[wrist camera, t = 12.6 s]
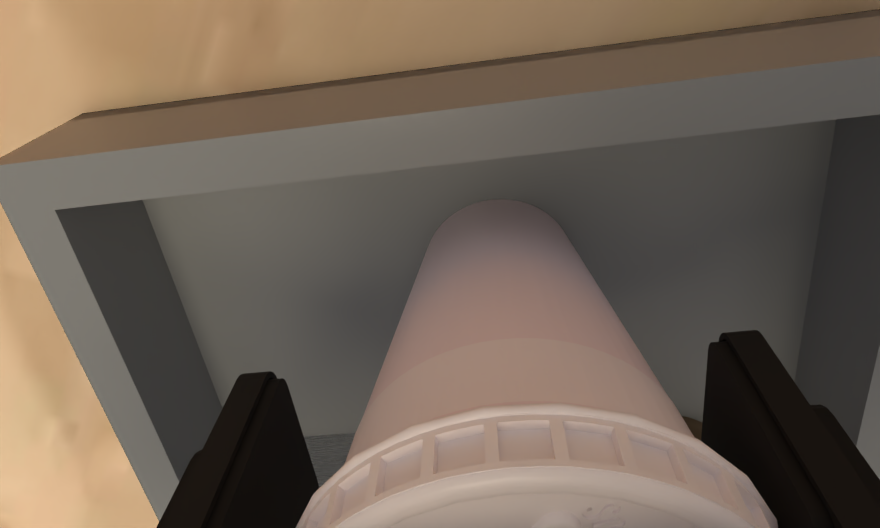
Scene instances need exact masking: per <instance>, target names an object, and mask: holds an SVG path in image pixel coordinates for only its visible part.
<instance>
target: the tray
mask: <svg viewBox="0 0 880 528" xmlns="http://www.w3.org/2000/svg"><path fill="white" fill-rule="evenodd" d="M495 199H507V200H515V201H520V202H524V203H527V204H530V205H532V206H535V207H537V208H539V209H541V210H542V211H544V212H545V213H547V214H548V215H549V216H551V217H552V218H553V219H554V220H555V221H556V222H557V223H558V224H559V225H560V227H561V228H562V229H563V231H564V232H565V234H566V236H567V237H568V239H569V240H570V242H571V243H572V245H573V247H574V248H575V250H576V251H577V253H578V255H579V256H580V258H581V259H582V261H583V262H584V264H585V266H586V267H587V269H588V270H589V272H590V274H591V275H592V277H593V278H594V280H595V281H596V283H597V285H598V286H599V288H600V289H601V291H602V293H603V294H604V296H605V297H606V299H607V300H608V302H609V304H610V305H611V307H612V308H613V310H614V311H615V313H616V315H617V316H618V318H619V319H620V321H621V323H622V324H623V326H624V327H625V329H626V330H627V332H628V334H629V335H630V337H631V338H632V340H633V342H634V343H635V345H636V346H637V348H638V349H639V351H640V353H641V354H642V356H643V357H644V359H645V361H646V362H647V364H648V365H649V367H650V368H651V370H652V372H653V373H654V375H655V376H656V378H657V379H658V381H659V383H660V384H661V386H662V387H663V389H664V391H665V392H666V394H667V395H668V397H669V398H670V399H671V400H672V402H673V403H674V405H675V406H676V408H677V409H678V411H679V413H680V414H681V416H684V417H688V418H692V419H695V420H697V421H699V422H702V421H703V409H704V396H705V383H706V370H707V357H708V347H709V344H710V343H711V342H719V337H720V335H721V334H722V333H725V332H737V331H748V330H758V331H759V332H760V333H761V334H762V335H763V337H764V338H765V340H766V341H767V342H768V344H769V345H770V347H771V348H772V350H773V351H774V353H775V354H776V356H777V357H778V359H779V360H780V362H781V363H782V364H783V366H784V367H785V369H786V370H787V372H788V373H789V375H790V376H791V378H792V379H793V381H794V382H795V384H796V385H797V386H798V388H799V389H800V391H801V392H802V394H803V395H804V397H805V398H806V400H807V401H808V403H809V404H810V405H819V404H821V405H823V406H825V407H827V408H828V409H829V411H830V412H831V413H832V414H833V415H834V416H835V418H836V419H837V421H838V422H839V423H840V425H841V426H842V428H843V429H844V430H845V432H846V433H847V435H848V436H849V437H850V439H851V440H852V442H853V443H854V444H855V446H856V447H857V449H858V450H859V451H860V453H861V454H862V456H863V457H864V458H865V460H866V461H867V463H868V464H869V465H870V467H871V468H872V470H873V471H874V472H875V474H876V475H877V477H878V478H879V479H880V9H879V10H872V11H864V12H856V13H849V14H841V15H833V16H826V17H818V18H810V19H803V20H795V21H787V22H780V23H772V24H764V25H757V26H749V27H741V28H734V29H726V30H718V31H711V32H703V33H696V34H688V35H680V36H673V37H665V38H657V39H650V40H642V41H634V42H627V43H619V44H611V45H604V46H596V47H588V48H581V49H573V50H565V51H558V52H550V53H542V54H535V55H527V56H519V57H512V58H504V59H496V60H489V61H481V62H473V63H466V64H458V65H450V66H443V67H435V68H428V69H420V70H412V71H405V72H397V73H389V74H382V75H374V76H366V77H359V78H351V79H343V80H336V81H328V82H320V83H313V84H305V85H297V86H290V87H282V88H274V89H267V90H259V91H251V92H244V93H236V94H228V95H221V96H213V97H205V98H198V99H190V100H183V101H175V102H167V103H160V104H152V105H144V106H137V107H129V108H121V109H114V110H106V111H98V112H91V113H83V114H81V115H79V116H77V117H75V118H73V119H71V120H70V121H68V122H66V123H64V124H62V125H60V126H58V127H57V128H55V129H53V130H51V131H49V132H47V133H45V134H44V135H42V136H40V137H38V138H36V139H34V140H32V141H31V142H29V143H27V144H25V145H23V146H21V147H20V148H18V149H16V150H14V151H12V152H10V153H8V154H7V155H5V156H3V157H1V158H0V203H1V205H2V207H3V209H4V211H5V213H6V215H7V217H8V219H9V221H10V223H11V225H12V227H13V229H14V231H15V233H16V235H17V237H18V239H19V241H20V243H21V245H22V247H23V249H24V251H25V253H26V255H27V257H28V259H29V261H30V263H31V265H32V267H33V269H34V271H35V273H36V275H37V277H38V279H39V281H40V283H41V285H42V287H43V289H44V291H45V293H46V295H47V297H48V299H49V301H50V303H51V305H52V307H53V309H54V311H55V313H56V315H57V317H58V319H59V321H60V323H61V325H62V327H63V329H64V331H65V333H66V335H67V337H68V339H69V341H70V343H71V345H72V347H73V349H74V351H75V353H76V355H77V357H78V359H79V361H80V363H81V365H82V367H83V369H84V371H85V373H86V375H87V377H88V379H89V381H90V383H91V385H92V387H93V389H94V391H95V393H96V395H97V397H98V399H99V401H100V403H101V405H102V407H103V409H104V411H105V413H106V416H107V418H108V420H109V422H110V424H111V426H112V428H113V430H114V432H115V434H116V436H117V438H118V440H119V442H120V444H121V446H122V448H123V450H124V452H125V454H126V456H127V458H128V460H129V462H130V464H131V466H132V468H133V470H134V472H135V474H136V476H137V478H138V480H139V482H140V484H141V486H142V488H143V490H144V492H145V494H146V496H147V498H148V500H149V502H150V504H151V506H152V508H153V510H154V512H155V514H156V516H157V518H158V520H159V522H160V520H161V518H162V516H163V514H164V512H165V510H166V508H167V506H168V504H169V502H170V500H171V498H172V496H173V494H174V492H175V490H176V488H177V486H178V484H179V482H180V480H181V478H182V476H183V474H184V472H185V470H186V468H187V466H188V464H189V462H190V460H191V459H192V457H193V456H194V454H195V453H197V452H198V451H200V450H202V449H203V447H204V445H205V443H206V441H207V439H208V437H209V435H210V433H211V431H212V429H213V427H214V425H215V423H216V421H217V419H218V417H219V414H220V412H221V410H222V408H223V406H224V404H225V402H226V400H227V398H228V396H229V394H230V392H231V390H232V388H233V386H234V384H235V382H236V380H237V378H238V377H239V375H241V374H245V373H256V372H268V371H271V372H274V374H275V375H276V377H277V379H280V378H283V379H285V381H286V383H287V385H288V388H289V391H290V395H291V398H292V401H293V404H294V407H295V410H296V414H297V417H298V420H299V423H300V426H301V429H302V433H303V436H304V437H307V436H320V435H333V434H346V433H356V431H357V428H358V426H359V424H360V422H361V420H362V417H363V415H364V412H365V410H366V407H367V404H368V402H369V399H370V397H371V394H372V391H373V389H374V386H375V384H376V381H377V378H378V376H379V373H380V370H381V368H382V365H383V363H384V360H385V357H386V355H387V352H388V350H389V347H390V344H391V342H392V339H393V337H394V334H395V331H396V329H397V326H398V324H399V321H400V318H401V316H402V313H403V311H404V308H405V305H406V303H407V300H408V298H409V295H410V292H411V290H412V287H413V285H414V282H415V279H416V277H417V274H418V272H419V269H420V266H421V264H422V261H423V258H424V256H425V253H426V251H427V248H428V245H429V243H430V241H431V239H432V237H433V235H434V233H435V232H436V231H437V229H438V228H439V227H440V226H441V224H442V223H443V222H444V221H445V220H446V219H448V218H449V217H450V216H451V215H453V214H454V213H456V212H457V211H459V210H460V209H462V208H464V207H467V206H469V205H472V204H474V203H478V202H481V201H487V200H495Z"/></svg>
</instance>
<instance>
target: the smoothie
mask: <svg viewBox="0 0 880 528" xmlns="http://www.w3.org/2000/svg"><path fill="white" fill-rule="evenodd" d="M296 528H778V523H777V519H776V518H775V516H774V515H773V513H772V512H771V510H770V509H769V507H768V506H767V504H766V503H765V501H764V500H763V498H762V497H761V495H760V494H759V492H758V491H757V489H756V488H755V486H754V485H753V483H752V482H751V480H750V479H749V477H748V476H747V475H746V474H744V473H743V472H742V471H740V470H739V469H738V468H736V467H735V466H734V465H732V464H731V463H730V462H728V461H727V460H726V459H724V458H723V457H722V456H720V455H719V454H718V453H716V452H715V451H714V450H712V449H711V448H710V447H708V446H707V445H706V444H704V443H703V442H702V441H700V440H699V439H697V438H695V437H694V436H693V434H692V432H691V431H690V429H689V427H688V426H687V424H686V422H685V421H684V419H683V418H682V416H681V414H680V413H679V411H678V409H677V408H676V406H675V405H674V403H673V402H672V400H671V399H670V398H669V397H668V395H667V394H666V392H665V391H664V389H663V387H662V386H661V384H660V383H659V381H658V379H657V378H656V376H655V375H654V373H653V372H652V370H651V368H650V367H649V365H648V364H647V362H646V361H645V359H644V357H643V356H642V354H641V353H640V351H639V349H638V348H637V346H636V345H635V343H634V342H633V340H632V338H631V337H630V335H629V334H628V332H627V330H626V329H625V327H624V326H623V324H622V323H621V321H620V319H619V318H618V316H617V315H616V313H615V311H614V310H613V308H612V307H611V305H610V304H609V302H608V300H607V299H606V297H605V296H604V294H603V293H602V291H601V289H600V288H599V286H598V285H597V283H596V281H595V280H594V278H593V277H592V275H591V274H590V272H589V270H588V269H587V267H586V266H585V264H584V262H583V261H582V259H581V258H580V256H579V255H578V253H577V251H576V250H575V248H574V247H573V245H572V243H571V242H570V240H569V239H568V237H567V236H566V234H565V232H564V231H563V229H562V228H561V227H560V225H559V224H558V223H557V222H556V221H555V220H554V219H553V218H552V217H551V216H549V215H548V214H547V213H545V212H544V211H542V210H541V209H539V208H537V207H535V206H532V205H530V204H527V203H524V202H520V201H515V200H507V199H495V200H487V201H481V202H478V203H474V204H472V205H469V206H467V207H464V208H462V209H460V210H459V211H457V212H456V213H454V214H453V215H451V216H450V217H449V218H448V219H446V220H445V221H444V222H443V223H442V224H441V226H440V227H439V228H438V229H437V231H436V232H435V233H434V235H433V237H432V239H431V241H430V243H429V245H428V248H427V251H426V253H425V256H424V258H423V261H422V264H421V266H420V269H419V272H418V274H417V277H416V279H415V282H414V285H413V287H412V290H411V292H410V295H409V298H408V300H407V303H406V305H405V308H404V311H403V313H402V316H401V318H400V321H399V324H398V326H397V329H396V331H395V334H394V337H393V339H392V342H391V344H390V347H389V350H388V352H387V355H386V357H385V360H384V363H383V365H382V368H381V370H380V373H379V376H378V378H377V381H376V384H375V386H374V389H373V391H372V394H371V397H370V399H369V402H368V404H367V407H366V410H365V412H364V415H363V417H362V420H361V422H360V424H359V426H358V428H357V431H356V433H355V436H354V439H353V442H352V444H351V447H350V450H349V453H348V455H347V458H346V461H345V464H344V465H343V466H342V467H341V468H340V469H339V470H338V471H337V472H336V473H335V474H334V475H333V476H332V477H331V478H330V479H328V480H327V481H326V482H325V483H324V484H323V485H322V486H321V487H320V488H319V489H318V490H317V491H316V492H315V493H314V494H313V495H312V497H311V499H310V501H309V503H308V505H307V507H306V509H305V511H304V513H303V514H302V516H301V518H300V520H299V522H298V524H297V526H296Z"/></svg>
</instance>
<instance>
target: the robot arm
mask: <svg viewBox="0 0 880 528" xmlns="http://www.w3.org/2000/svg"><path fill="white" fill-rule="evenodd" d="M701 441H702V442H703V443H704V444H706V445H707V446H708V447H710V448H711V449H712V450H714V451H715V452H716V453H718V454H719V455H720V456H722V457H723V458H724V459H726V460H727V461H728V462H730V463H731V464H732V465H734V466H735V467H736V468H738V469H739V470H740V471H742V472H743V473H744V474H746V475H747V476H748V477H749V479H750V480H751V482H752V483H753V485H754V486H755V488H756V489H757V491H758V492H759V494H760V495H761V497H762V498H763V500H764V501H765V503H766V504H767V506H768V507H769V509H770V510H771V512H772V513H773V515H774V516H775V518H776V519H777V523H778V528H880V479H879V478H878V477H877V475H876V474H875V472H874V471H873V470H872V468H871V467H870V465H869V464H868V463H867V461H866V460H865V458H864V457H863V456H862V454H861V453H860V451H859V450H858V449H857V447H856V446H855V444H854V443H853V442H852V440H851V439H850V437H849V436H848V435H847V433H846V432H845V430H844V429H843V428H842V426H841V425H840V423H839V422H838V421H837V419H836V418H835V416H834V415H833V414H832V413H831V412H830V411H829V409H828V408H827V407H825V406H823V405H821V404H819V405H810V404H809V403H808V401H807V400H806V398H805V397H804V395H803V394H802V392H801V391H800V389H799V388H798V386H797V385H796V384H795V382H794V381H793V379H792V378H791V376H790V375H789V373H788V372H787V370H786V369H785V367H784V366H783V364H782V363H781V362H780V360H779V359H778V357H777V356H776V354H775V353H774V351H773V350H772V348H771V347H770V345H769V344H768V342H767V341H766V340H765V338H764V337H763V335H762V334H761V333H760V332H759V331H758V330H748V331H737V332H725V333H722V334H721V335H720V337H719V342H711V343H710V344H709V347H708V357H707V370H706V383H705V396H704V409H703V421H702V434H701ZM318 489H319V484H318V480H317V477H316V474H315V471H314V467H313V464H312V461H311V458H310V455H309V452H308V448H307V445H306V442H305V439H304V436H303V433H302V429H301V426H300V423H299V420H298V417H297V414H296V410H295V407H294V404H293V401H292V398H291V395H290V391H289V388H288V385H287V383H286V381H285V379H283V378H280V379H277V377H276V375H275V374H274V372H271V371H268V372H256V373H245V374H241V375H239V377H238V378H237V380H236V382H235V384H234V386H233V388H232V390H231V392H230V394H229V396H228V398H227V400H226V402H225V404H224V406H223V408H222V410H221V412H220V414H219V417H218V419H217V421H216V423H215V425H214V427H213V429H212V431H211V433H210V435H209V437H208V439H207V441H206V443H205V445H204V447H203V449H202V450H200V451H198V452H197V453H195V454H194V456H193V457H192V459H191V460H190V462H189V464H188V466H187V468H186V470H185V472H184V474H183V476H182V478H181V480H180V482H179V484H178V486H177V488H176V490H175V492H174V494H173V496H172V498H171V500H170V502H169V504H168V506H167V508H166V510H165V512H164V514H163V516H162V518H161V520H160V522H159V524H158V526H157V528H296V526H297V524H298V522H299V520H300V518H301V516H302V514H303V513H304V511H305V509H306V507H307V505H308V503H309V501H310V499H311V497H312V495H313V494H314V493H315V492H316V491H317V490H318Z"/></svg>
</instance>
